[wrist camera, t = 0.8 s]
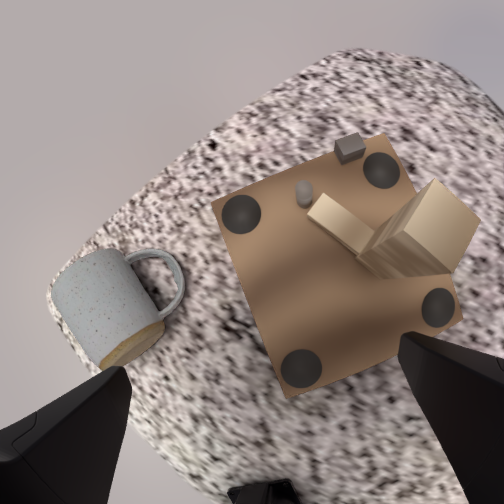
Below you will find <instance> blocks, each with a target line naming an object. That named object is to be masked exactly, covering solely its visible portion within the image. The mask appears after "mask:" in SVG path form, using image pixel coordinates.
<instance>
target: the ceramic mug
mask: <svg viewBox="0 0 504 504" xmlns="http://www.w3.org/2000/svg"><path fill="white" fill-rule="evenodd" d="M147 257H160V258H163V259H164V260H165V261H166V262H167V264H168V265H169V267H170V268H171V270H172V272H173V274H174V281H175V282H176V284H177V287H178V291H177V294H176V296H175V298H174V300H173V301H172V302H171V303H170V304H169V305H168V306H167V307H166V308H164V309H163V310H162V311H158V309H157V308H156V306H155V304H154V303H153V301H152V300H151V298H150V297H149V295H148V293H146V291H145V290H144V288H143V286H142V284H141V283H140V281H139V279H138V277H137V276H136V275H135V272H134V271H133V269H132V268H131V266H130V264H131V263H133V262H135V261H137V260H140V259H143V258H147ZM184 292H185V280H184V275H183V272H182V270H181V268H180V266H179V264H178V262H177V261H176V259H175V258H174V257H173V256H172V255H170V254H169V253H167V252H165V251H163V250H160V249H144V250H139V251H136V252H133V253H131V254H129V255H127V256H124V255H123V254H122V252H120V251H119V250H117V249H102V250H98V251H95V252H93V253H90V254H88V255H86V256H84V257H82V258H80V259H79V260H77V261H76V262H74V263H73V264H71V265H70V266H69V267H68V268H66V269H65V270H64V271H63V272H62V273H61V275H60V276H59V277H58V278H57V279H56V281H55V283H54V285H53V287H52V290H51V298H52V300H53V302H54V304H55V305H56V307H57V309H58V310H59V312H60V314H61V316H62V317H63V319H64V321H65V322H66V324H67V325H68V327H69V329H70V330H71V332H72V333H73V335H74V336H75V338H76V339H77V341H78V342H79V344H80V345H81V347H82V348H83V350H84V351H85V353H86V354H87V356H88V357H89V358H90V359H91V361H92V362H93V363H94V364H95V365H96V366H97V367H99V368H100V369H101V370H103V371H104V370H105V369H107V368H109V367H110V366H124V365H126V364H128V363H129V362H131V361H132V360H134V359H135V358H136V357H138V356H139V355H141V354H142V353H143V352H145V351H146V350H147V349H148V348H150V347H151V346H152V345H153V344H154V343H155V342H156V341H157V340H158V339H159V338H160V337H161V336H162V335H163V333H164V328H165V324H164V321H163V319H164V317H166V316H167V315H169V314H170V313H171V312H172V311H173V310H174V309H175V308H176V307H177V306H178V304H179V303H180V302H181V300H182V297H183V294H184Z"/></svg>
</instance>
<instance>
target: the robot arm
mask: <svg viewBox="0 0 504 504" xmlns="http://www.w3.org/2000/svg"><path fill="white" fill-rule="evenodd" d="M398 360H399V363H400V365H401V367H402V370H403V372H404V374H405V376H406V379H407V381H408V383H409V386H410V388H411V390H412V393H413V395H414V397H415V398H416V400H417V402H418V404H419V406H420V407H421V409H422V411H423V413H424V415H425V416H426V418H427V420H428V422H429V424H430V426H431V427H432V429H433V431H434V433H435V435H436V437H437V439H438V441H439V442H440V444H441V446H442V448H443V450H444V452H445V454H446V456H447V458H448V460H449V462H450V464H451V466H452V468H453V470H454V472H455V474H456V476H457V478H458V480H459V482H460V484H461V487H462V489H464V490H463V491H464V493H465V496H466V498H467V500H468V502H469V504H504V359H503V358H499V357H495V356H492V355H489V354H486V353H482V352H479V351H476V350H472V349H469V348H466V347H462V346H459V345H456V344H453V343H449V342H446V341H443V340H440V339H437V338H434V337H430V336H427V335H424V334H421V333H418V332H415V331H410V332H406V333H403V334H402V335H401V337H400V343H399V350H398ZM131 396H132V386H131V383H130V381H129V378H128V375H127V373H126V370H125V368H124V367H123V366H110V367H109V368H107V369H105V370H104V371H102V372H101V373H99V374H97V375H96V376H94V377H92V378H91V379H89V380H87V381H86V382H84V383H82V384H81V385H79V386H78V387H76V388H74V389H73V390H71V391H69V392H68V393H66V394H64V395H63V396H61V397H59V398H57V399H56V400H54V401H52V402H51V403H49V404H47V405H46V406H44V407H42V408H41V409H39V410H38V411H35V412H34V413H32V414H30V415H29V416H27V417H25V418H23V419H21V420H20V421H18V422H16V423H14V424H12V425H10V426H8V427H6V428H3V429H1V430H0V504H107V502H108V498H109V493H110V489H111V485H112V481H113V477H114V472H115V468H116V464H117V461H118V457H119V453H120V449H121V445H122V442H123V438H124V434H125V430H126V426H127V420H128V413H129V407H130V401H131ZM284 483H288V484H284ZM231 492H233V493H231ZM227 494H228V496H229V498H230V499H231V501H232V503H233V504H302V502H301V500H300V498H299V496H298V494H297V492H296V490H295V488H294V486H293V484H292V482H291V480H289V479H283V480H278V481H273V482H268V483H260V484H254V485H248V486H243V487H237V488H230V489H229V490H228V492H227Z"/></svg>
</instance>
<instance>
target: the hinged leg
mask: <svg viewBox="0 0 504 504" xmlns="http://www.w3.org/2000/svg"><path fill="white" fill-rule="evenodd" d="M307 218H309V219H310V220H311V221H313V222H314V223H315V224H317V225H318V226H319V227H321V228H322V229H323V230H325V231H326V232H327V233H329V234H330V235H331V236H333V237H334V238H335V239H336V240H338V241H339V242H340V243H342V244H343V245H344V246H345V247H347V248H348V249H349V250H351V251H352V252H353V253H354V254H356V255H357V256H356V257H355V258H354V259H356V260H357V261H358V262H359V263H361V264H362V265H363V266H364V267H366V268H367V269H368V270H369V271H371V272H372V273H373V274H374V275H376V276H377V277H378V278H379V279H380V280H383V279H396V278H408V277H419V276H431V275H441V274H452V273H453V272H454V270H455V269H456V267H457V265H458V263H459V262H460V260H461V258H462V256H463V254H464V253H465V251H466V249H467V247H468V245H469V243H470V241H471V239H472V237H473V235H474V233H475V231H476V229H477V227H478V225H479V223H480V221H481V219H480V218H479V217H478V216H477V215H475V214H474V213H473V212H472V211H471V210H470V209H469V208H468V207H467V206H466V205H465V204H464V203H463V202H462V201H461V200H460V199H458V198H457V197H456V196H455V195H454V194H453V193H452V192H451V191H450V190H448V189H447V188H446V187H445V186H444V185H443V184H441V183H440V182H439V181H438V180H437V179H436V178H434V179H433V180H432V181H431V182H430V183H429V184H427V185H426V186H425V187H424V188H423V189H422V190H421V191H420V192H419V193H417V194H416V195H415V196H414V197H413V198H412V199H411V200H410V201H408V202H407V203H406V204H405V205H404V206H403V207H402V208H400V209H399V210H398V211H397V212H396V213H395V214H393V215H392V216H391V217H390V218H389V219H388V220H386V221H385V222H384V223H383V224H382V225H381V226H379V227H378V228H377V229H376V230H375V231H374V230H372V229H371V228H370V227H369V226H367V225H366V224H365V223H363V222H362V221H361V220H359V219H358V218H357V217H356V216H354V215H353V214H352V213H350V212H349V211H348V210H346V209H345V208H344V207H342V206H341V205H340V204H338V203H337V202H335V201H334V200H333V199H331V198H330V197H329V196H327V195H326V194H324V193H323V194H322V195H321V196H320V198H319V199H318V200H317V202H316V203H315V204H314V206H313V207H312V208H311V209H310V211H309V212H308V213H307Z"/></svg>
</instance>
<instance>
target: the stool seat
mask: <svg viewBox="0 0 504 504" xmlns="http://www.w3.org/2000/svg"><path fill="white" fill-rule="evenodd" d="M323 193H324V194H326V195H327V196H329V197H330V198H331V199H333V200H334V201H335V202H337V203H338V204H340V205H341V206H342V207H344V208H345V209H346V210H348V211H349V212H350V213H352V214H353V215H354V216H356V217H357V218H358V219H359V220H361V221H362V222H363V223H365V224H366V225H367V226H369V227H370V228H371V229H372V230H374V231H375V230H376V229H377V228H378V227H379V226H381V225H382V224H383V223H384V222H385V221H386V220H388V219H389V218H390V217H391V216H392V215H393V214H395V213H396V212H397V211H398V210H399V209H400V208H402V207H403V206H404V205H405V204H406V203H407V202H408V201H410V200H411V199H412V198H413V197H414V196H415V195H416V194H417V193H416V191H415V189H414V187H413V185H412V183H411V181H410V179H409V177H408V175H407V173H406V171H405V169H404V167H403V165H402V164H401V162H400V160H399V158H398V156H397V154H396V153H395V151H394V149H393V147H392V146H391V144H390V142H389V140H388V139H387V137H386V135H385V134H384V133H383V134H380V135H377V136H374V137H371V138H369V139H366V140H362V138H361V137H360V135H359V133H358V132H357V133H355V134H352V135H349V136H346V137H343V138H340V139H338V140H335V147H334V151H333V152H330V153H328V154H325V155H322V156H320V157H317V158H315V159H312V160H310V161H307V162H304V163H302V164H299V165H297V166H294V167H292V168H289V169H287V170H285V171H282V172H280V173H277V174H275V175H272V176H270V177H268V178H265V179H263V180H261V181H258V182H256V183H253V184H251V185H249V186H247V187H244V188H242V189H240V190H237V191H235V192H233V193H231V194H228V195H226V196H224V197H222V198H219V199H217V200H215V201H213V202H211V205H212V208H213V211H214V213H215V216H216V219H217V222H218V224H219V227H220V230H221V232H222V235H223V238H224V241H225V243H226V246H227V249H228V251H229V254H230V257H231V259H232V262H233V265H234V267H235V270H236V273H237V275H238V278H239V281H240V283H241V286H242V289H243V291H244V294H245V296H246V299H247V302H248V304H249V307H250V309H251V312H252V315H253V317H254V320H255V322H256V325H257V327H258V330H259V333H260V335H261V338H262V340H263V343H264V345H265V348H266V350H267V353H268V355H269V358H270V361H271V363H272V366H273V368H274V371H275V373H276V376H277V378H278V381H279V383H280V386H281V388H282V390H283V393H284V395H285V398H286V399H287V398H290V397H293V396H296V395H299V394H302V393H305V392H308V391H311V390H314V389H317V388H319V387H322V386H325V385H328V384H330V383H333V382H336V381H338V380H341V379H343V378H346V377H348V376H351V375H353V374H356V373H358V372H360V371H363V370H365V369H367V368H370V367H372V366H374V365H377V364H379V363H381V362H383V361H385V360H388V359H390V358H392V357H394V356H396V355H398V350H399V343H400V337H401V335H402V334H403V333H406V332H410V331H415V332H418V333H421V334H424V335H427V336H430V337H433V336H435V335H437V334H439V333H441V332H442V331H444V330H446V329H448V328H449V327H451V326H453V325H454V324H456V323H458V322H460V321H461V320H463V315H462V312H461V308H460V305H459V301H458V298H457V295H456V291H455V288H454V285H453V282H452V279H451V276H450V274H441V275H431V276H419V277H408V278H396V279H383V280H380V279H379V278H378V277H377V276H376V275H374V274H373V273H372V272H371V271H369V270H368V269H367V268H366V267H364V266H363V265H362V264H361V263H359V262H358V261H357V260H356V259H354V258H355V257H356V256H357V255H356V254H354V253H353V252H352V251H351V250H349V249H348V248H347V247H345V246H344V245H343V244H342V243H340V242H339V241H338V240H336V239H335V238H334V237H333V236H331V235H330V234H329V233H327V232H326V231H325V230H323V229H322V228H321V227H319V226H318V225H317V224H315V223H314V222H313V221H311V220H310V219H309V218H307V213H308V212H309V211H310V209H311V208H312V207H313V206H314V204H315V203H316V202H317V200H318V199H319V198H320V196H321V195H322V194H323Z"/></svg>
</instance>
